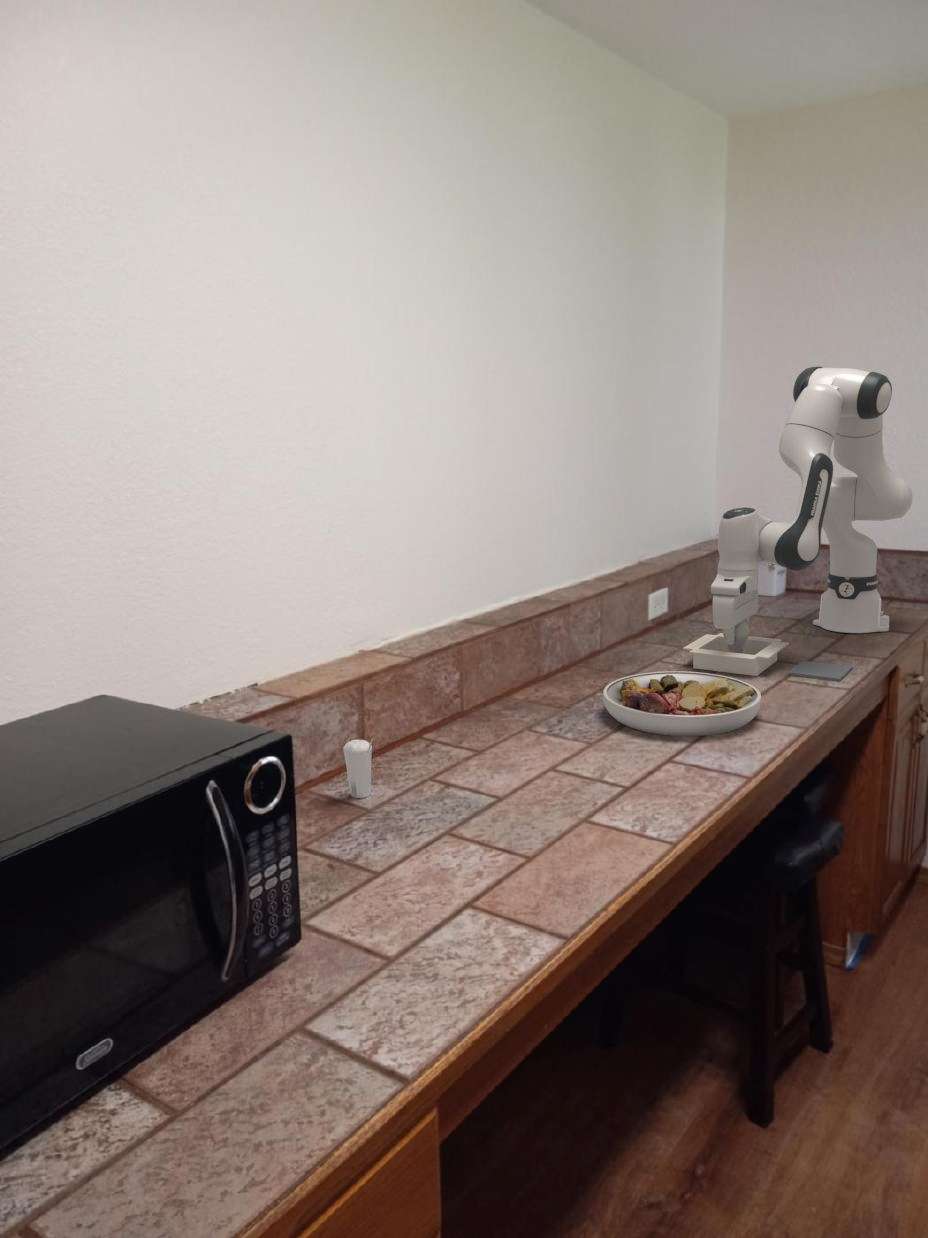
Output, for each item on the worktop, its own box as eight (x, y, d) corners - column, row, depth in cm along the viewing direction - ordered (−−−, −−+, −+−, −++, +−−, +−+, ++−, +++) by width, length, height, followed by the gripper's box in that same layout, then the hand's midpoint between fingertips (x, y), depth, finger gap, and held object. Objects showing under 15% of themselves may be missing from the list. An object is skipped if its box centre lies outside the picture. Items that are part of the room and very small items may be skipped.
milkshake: (367, 803, 157) (363, 743, 155) (340, 797, 160) (336, 738, 158) (384, 793, 161) (380, 734, 159) (358, 787, 164) (354, 729, 161)
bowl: (643, 686, 214) (643, 651, 213) (781, 707, 197) (783, 668, 196) (575, 726, 191) (575, 686, 189) (726, 753, 174) (727, 710, 172)
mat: (802, 663, 226) (802, 660, 226) (852, 669, 220) (852, 666, 220) (787, 675, 218) (788, 672, 217) (839, 681, 211) (840, 678, 211)
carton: (709, 650, 241) (710, 632, 240) (791, 659, 230) (791, 640, 229) (678, 669, 225) (678, 650, 224) (764, 680, 214) (764, 660, 213)
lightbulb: (746, 660, 230) (747, 614, 228) (751, 667, 224) (752, 620, 222) (719, 661, 231) (720, 615, 228) (724, 668, 225) (724, 621, 223)
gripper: (739, 572, 233) (738, 629, 236) (707, 587, 217) (706, 648, 220) (766, 574, 230) (764, 631, 233) (735, 589, 214) (734, 651, 217)
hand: (736, 640), depth 226 cm, fingers closed on lightbulb, 6 cm apart
